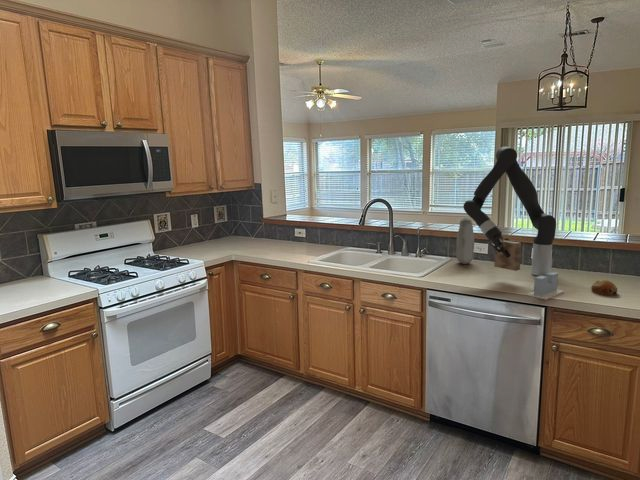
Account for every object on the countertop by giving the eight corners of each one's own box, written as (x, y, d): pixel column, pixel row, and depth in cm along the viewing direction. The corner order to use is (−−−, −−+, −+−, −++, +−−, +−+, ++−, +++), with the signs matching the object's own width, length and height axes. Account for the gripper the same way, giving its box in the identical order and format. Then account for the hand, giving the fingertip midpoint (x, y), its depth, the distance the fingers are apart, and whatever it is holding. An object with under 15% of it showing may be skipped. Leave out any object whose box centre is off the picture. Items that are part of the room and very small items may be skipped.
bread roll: (609, 297, 204) (605, 281, 206) (624, 294, 194) (620, 277, 196) (589, 298, 204) (585, 281, 206) (603, 295, 194) (599, 278, 196)
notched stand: (544, 288, 209) (545, 270, 207) (563, 292, 202) (565, 274, 200) (526, 295, 199) (527, 276, 197) (546, 299, 192) (547, 280, 190)
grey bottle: (455, 261, 269) (457, 217, 264) (473, 262, 266) (475, 217, 261) (455, 264, 260) (457, 219, 255) (473, 265, 256) (475, 219, 251)
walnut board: (494, 266, 225) (495, 240, 223) (498, 265, 227) (499, 239, 225) (516, 270, 216) (517, 243, 213) (519, 269, 218) (521, 242, 215)
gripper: (487, 227, 219) (508, 254, 212) (502, 224, 228) (523, 250, 220) (478, 236, 225) (498, 262, 217) (493, 233, 233) (513, 258, 225)
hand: (511, 256), depth 219 cm, fingers closed on walnut board, 3 cm apart
